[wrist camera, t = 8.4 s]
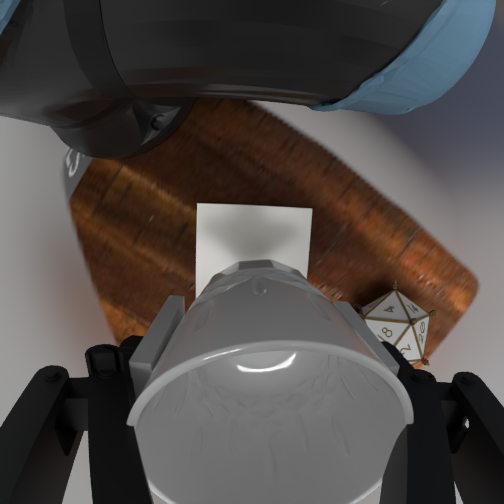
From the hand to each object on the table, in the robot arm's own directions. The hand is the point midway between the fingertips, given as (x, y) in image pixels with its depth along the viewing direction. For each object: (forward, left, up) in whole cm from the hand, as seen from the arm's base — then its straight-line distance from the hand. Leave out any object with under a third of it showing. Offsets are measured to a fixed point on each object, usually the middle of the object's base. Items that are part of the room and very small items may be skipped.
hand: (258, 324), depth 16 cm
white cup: (0, 0, -1) cm, 1 cm away
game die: (+5, +13, -14) cm, 20 cm away
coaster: (0, 0, -14) cm, 14 cm away
